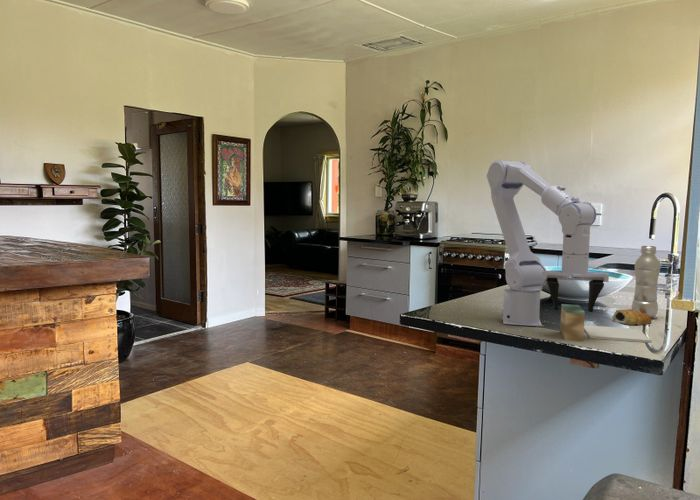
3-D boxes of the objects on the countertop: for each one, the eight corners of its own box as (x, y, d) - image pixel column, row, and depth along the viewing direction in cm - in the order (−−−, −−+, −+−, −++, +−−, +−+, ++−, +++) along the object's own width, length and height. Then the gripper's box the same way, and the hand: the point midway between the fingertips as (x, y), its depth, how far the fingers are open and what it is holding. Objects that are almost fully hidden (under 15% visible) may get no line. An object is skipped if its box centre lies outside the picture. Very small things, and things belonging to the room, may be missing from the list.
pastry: (639, 319, 143) (640, 306, 143) (658, 325, 137) (659, 311, 136) (609, 320, 141) (610, 307, 141) (627, 327, 135) (628, 312, 134)
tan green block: (564, 340, 121) (566, 310, 120) (560, 331, 129) (561, 304, 128) (583, 341, 120) (584, 311, 119) (577, 333, 128) (578, 305, 127)
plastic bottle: (653, 315, 148) (658, 245, 146) (660, 320, 141) (665, 247, 139) (628, 313, 149) (632, 245, 147) (634, 319, 143) (639, 247, 141)
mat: (590, 338, 122) (590, 335, 122) (582, 327, 133) (582, 325, 133) (651, 342, 119) (651, 340, 119) (638, 331, 129) (638, 328, 129)
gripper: (544, 254, 120) (542, 311, 122) (613, 256, 117) (609, 315, 118) (541, 251, 127) (539, 306, 128) (606, 253, 123) (603, 309, 125)
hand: (572, 310), depth 124 cm, fingers open, 7 cm apart
